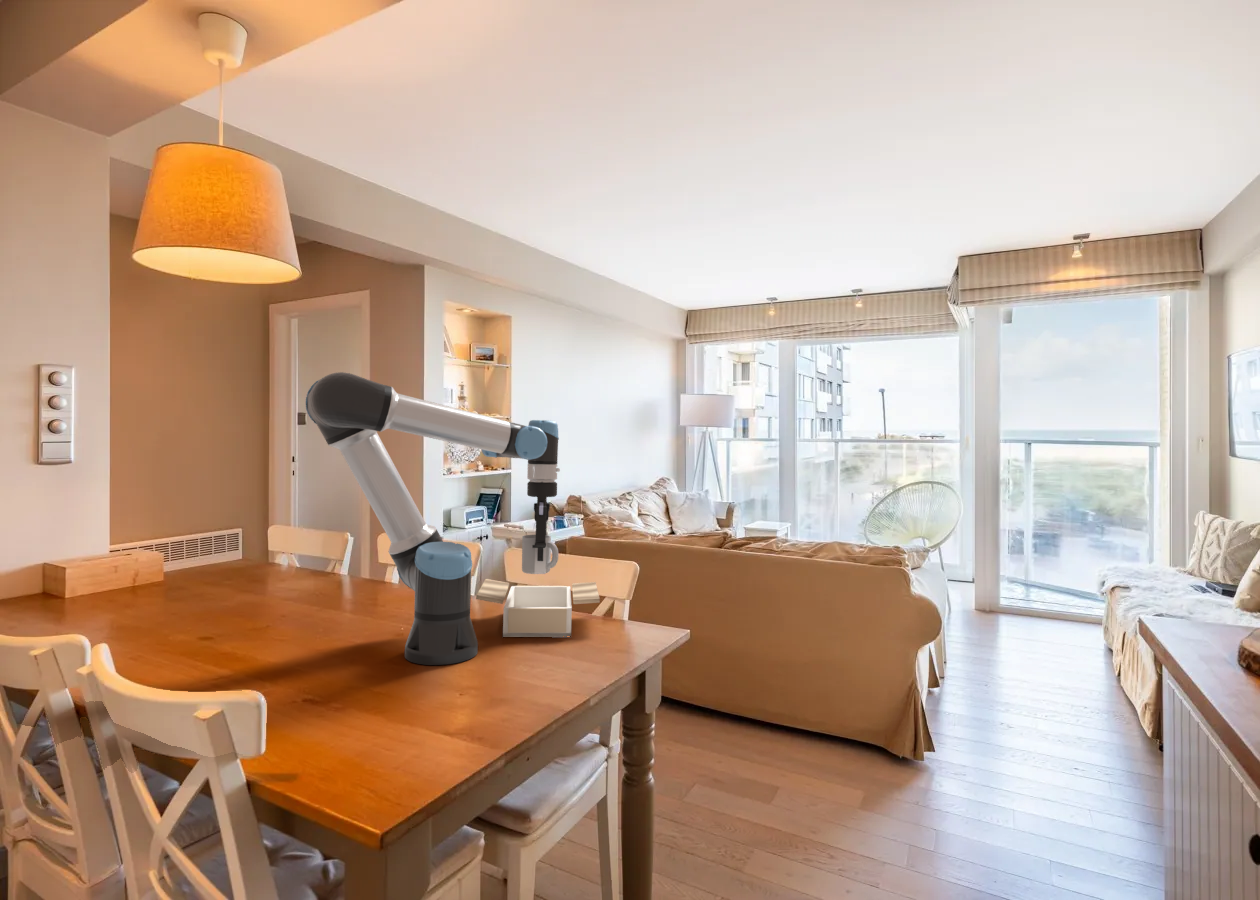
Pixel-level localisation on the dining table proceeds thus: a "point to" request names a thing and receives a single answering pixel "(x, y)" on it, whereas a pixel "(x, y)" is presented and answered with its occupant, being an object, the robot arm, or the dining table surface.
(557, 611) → the carton
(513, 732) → the dining table surface
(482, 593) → the flap
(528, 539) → the cup
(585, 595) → the flap
